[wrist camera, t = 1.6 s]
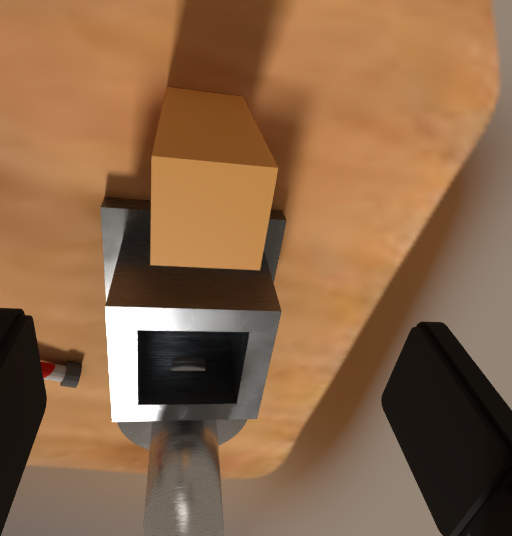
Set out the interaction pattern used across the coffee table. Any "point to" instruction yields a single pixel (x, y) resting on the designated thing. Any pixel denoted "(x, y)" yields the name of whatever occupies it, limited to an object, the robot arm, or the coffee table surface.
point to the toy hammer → (62, 373)
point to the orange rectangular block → (209, 183)
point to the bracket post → (184, 362)
